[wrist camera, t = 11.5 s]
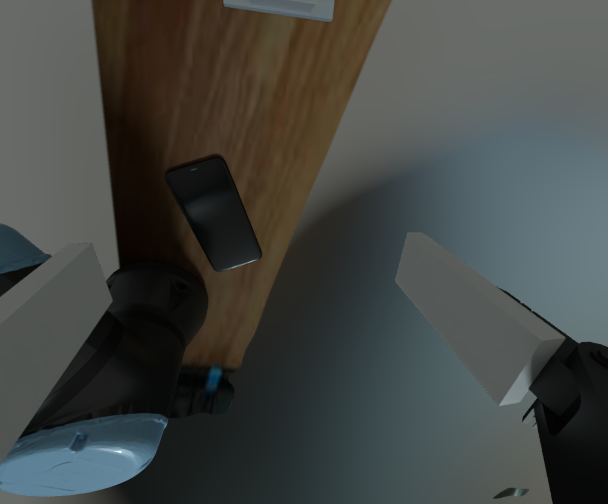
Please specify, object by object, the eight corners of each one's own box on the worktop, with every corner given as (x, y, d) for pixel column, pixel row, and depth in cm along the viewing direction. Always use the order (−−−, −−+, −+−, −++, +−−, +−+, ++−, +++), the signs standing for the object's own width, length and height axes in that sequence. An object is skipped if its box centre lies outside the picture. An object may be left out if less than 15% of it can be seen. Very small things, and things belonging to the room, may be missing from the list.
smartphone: (264, 256, 42) (222, 154, 34) (264, 259, 41) (222, 155, 33) (216, 271, 42) (162, 172, 34) (215, 274, 41) (160, 174, 33)
